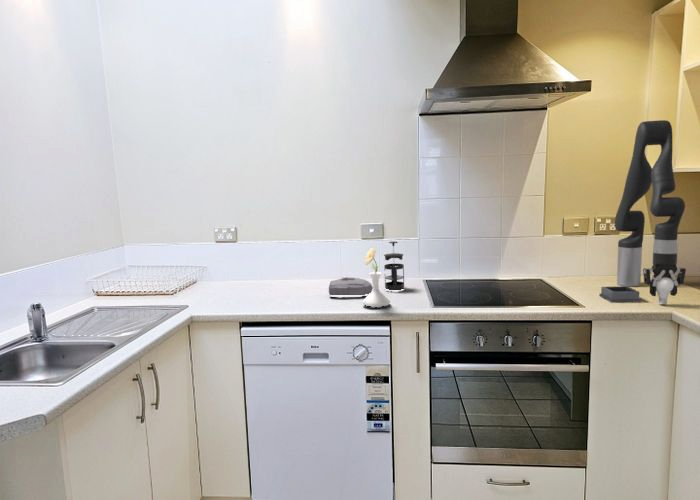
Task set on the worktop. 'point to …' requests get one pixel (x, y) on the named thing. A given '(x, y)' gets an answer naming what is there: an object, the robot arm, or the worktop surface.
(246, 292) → the worktop surface
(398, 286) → the french press
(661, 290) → the lightbulb
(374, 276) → the flower in vase
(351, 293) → the soft grey pack
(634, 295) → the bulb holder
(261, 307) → the worktop surface
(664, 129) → the robot arm
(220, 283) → the worktop surface
